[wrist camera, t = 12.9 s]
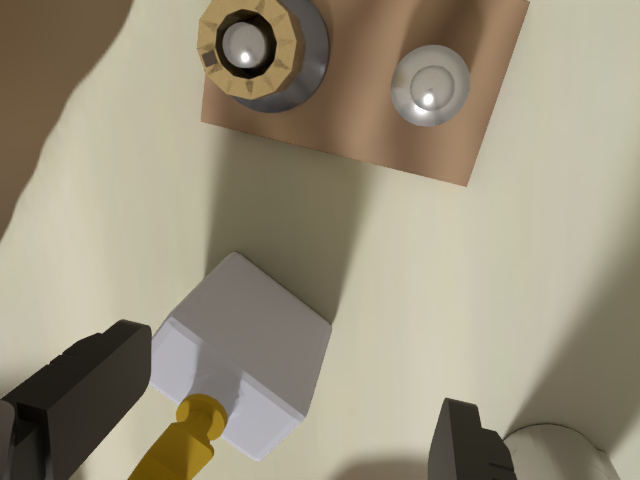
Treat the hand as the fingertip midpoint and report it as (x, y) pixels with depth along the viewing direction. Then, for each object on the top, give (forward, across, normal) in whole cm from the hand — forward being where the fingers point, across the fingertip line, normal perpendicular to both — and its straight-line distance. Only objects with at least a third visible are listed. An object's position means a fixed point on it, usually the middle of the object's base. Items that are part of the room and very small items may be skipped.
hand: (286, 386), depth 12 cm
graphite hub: (+26, +9, -9) cm, 29 cm away
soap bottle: (+28, +8, +14) cm, 32 cm away
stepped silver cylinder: (+26, -3, -8) cm, 27 cm away
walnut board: (+27, +3, -9) cm, 29 cm away
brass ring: (+23, +9, -9) cm, 26 cm away
